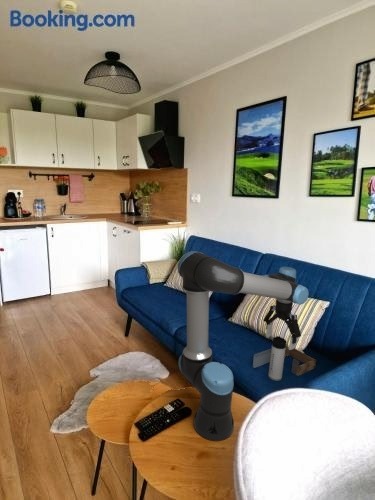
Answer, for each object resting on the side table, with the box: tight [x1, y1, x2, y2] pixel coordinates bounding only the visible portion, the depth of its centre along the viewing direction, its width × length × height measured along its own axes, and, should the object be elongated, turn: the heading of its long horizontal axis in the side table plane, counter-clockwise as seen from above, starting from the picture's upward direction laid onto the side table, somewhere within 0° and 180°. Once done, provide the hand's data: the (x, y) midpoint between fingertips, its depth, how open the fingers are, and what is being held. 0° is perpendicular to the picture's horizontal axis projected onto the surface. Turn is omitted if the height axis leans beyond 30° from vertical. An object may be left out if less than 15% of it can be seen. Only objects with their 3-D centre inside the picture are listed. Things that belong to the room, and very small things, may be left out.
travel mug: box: [268, 335, 287, 382], centre depth 154 cm, size 6×7×20 cm
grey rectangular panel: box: [252, 348, 272, 369], centre depth 165 cm, size 12×1×7 cm, turn 124°
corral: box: [284, 346, 317, 377], centre depth 167 cm, size 16×16×8 cm
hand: (279, 342), depth 152 cm, fingers open, 13 cm apart
